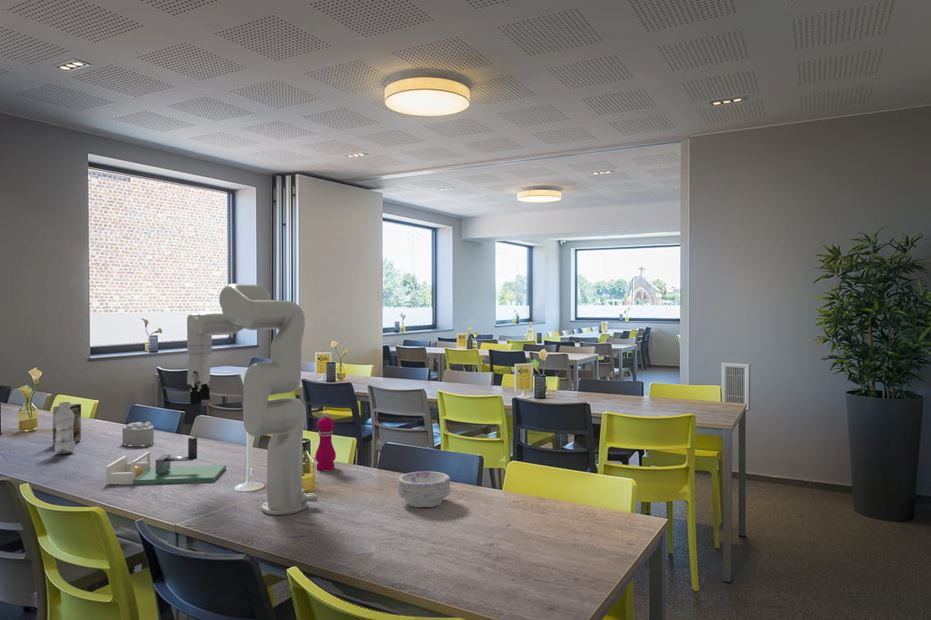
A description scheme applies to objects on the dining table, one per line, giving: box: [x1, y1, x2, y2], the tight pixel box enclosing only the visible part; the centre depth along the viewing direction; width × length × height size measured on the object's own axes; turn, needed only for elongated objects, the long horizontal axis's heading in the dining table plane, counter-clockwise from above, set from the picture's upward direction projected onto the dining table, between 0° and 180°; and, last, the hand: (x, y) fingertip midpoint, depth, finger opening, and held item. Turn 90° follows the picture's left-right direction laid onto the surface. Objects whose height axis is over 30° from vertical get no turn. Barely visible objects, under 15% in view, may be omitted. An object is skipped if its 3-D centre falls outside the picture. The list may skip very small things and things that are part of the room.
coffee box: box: [52, 403, 82, 446], centre depth 255 cm, size 9×6×16 cm
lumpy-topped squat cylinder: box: [122, 421, 155, 447], centre depth 255 cm, size 10×13×9 cm
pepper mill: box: [314, 412, 337, 472], centre depth 216 cm, size 7×7×20 cm
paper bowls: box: [397, 470, 451, 508], centre depth 178 cm, size 15×15×8 cm
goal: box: [105, 451, 151, 486], centre depth 203 cm, size 9×14×7 cm, turn 8°
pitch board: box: [132, 464, 227, 486], centre depth 206 cm, size 25×16×2 cm, turn 98°
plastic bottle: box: [54, 401, 76, 455], centre depth 237 cm, size 6×7×20 cm
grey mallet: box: [155, 436, 198, 474], centre depth 205 cm, size 12×7×11 cm, turn 98°
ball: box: [129, 466, 143, 478], centre depth 203 cm, size 4×4×4 cm
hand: (200, 401), depth 202 cm, fingers open, 9 cm apart
